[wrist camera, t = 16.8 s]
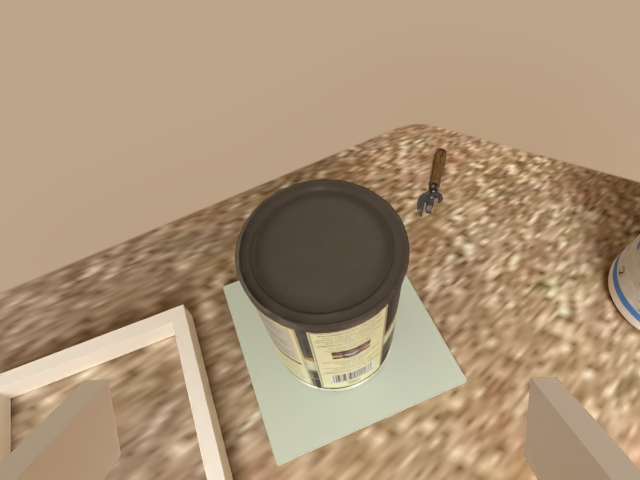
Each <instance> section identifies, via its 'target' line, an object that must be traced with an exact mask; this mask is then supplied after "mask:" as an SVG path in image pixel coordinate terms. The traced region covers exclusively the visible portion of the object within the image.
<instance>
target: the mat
mask: <svg viewBox="0 0 640 480" xmlns="http://www.w3.org/2000/svg"><path fill="white" fill-rule="evenodd" d="M223 289H224V292H225V296H226V299H227V302H228V306H229V309H230V312H231V315H232V319H233V322H234V325H235V329H236V332H237V335H238V339H239V342H240V345H241V348H242V352H243V355H244V358H245V362H246V365H247V368H248V371H249V375H250V378H251V381H252V385H253V388H254V391H255V394H256V398H257V401H258V404H259V408H260V411H261V414H262V417H263V421H264V424H265V427H266V431H267V434H268V437H269V440H270V444H271V447H272V450H273V454H274V457H275V460H276V463H277V465H278V466H279V465H281V464H284V463H286V462H288V461H290V460H293V459H295V458H297V457H299V456H302V455H304V454H306V453H308V452H311V451H313V450H315V449H317V448H320V447H322V446H324V445H326V444H329V443H331V442H333V441H335V440H338V439H340V438H342V437H344V436H347V435H349V434H351V433H353V432H355V431H358V430H360V429H362V428H364V427H367V426H369V425H371V424H373V423H376V422H378V421H380V420H382V419H385V418H387V417H389V416H391V415H394V414H396V413H398V412H400V411H403V410H405V409H407V408H409V407H412V406H414V405H416V404H418V403H421V402H423V401H425V400H427V399H429V398H432V397H434V396H436V395H438V394H441V393H443V392H445V391H447V390H450V389H452V388H454V387H456V386H459V385H461V384H463V383H465V382H466V381H467V380H466V378H465V376H464V374H463V373H462V371H461V369H460V367H459V366H458V364H457V362H456V361H455V359H454V357H453V355H452V354H451V352H450V350H449V348H448V347H447V345H446V343H445V341H444V340H443V338H442V336H441V335H440V333H439V331H438V329H437V328H436V326H435V324H434V322H433V321H432V319H431V317H430V316H429V314H428V312H427V310H426V309H425V307H424V305H423V303H422V302H421V300H420V298H419V296H418V295H417V293H416V291H415V290H414V288H413V286H412V284H411V283H410V281H409V279H408V277H407V276H406V275H405V278H404V281H403V283H402V286H401V292H400V298H399V303H398V308H397V314H396V320H395V326H394V333H393V343H392V348H391V351H390V354H389V357H388V359H387V361H386V362H385V364H384V365H383V367H382V368H381V370H380V371H379V372H378V373H377V374H376V375H375V376H374V377H372V378H371V379H370V380H369V381H367V382H366V383H364V384H362V385H360V386H358V387H355V388H353V389H349V390H345V391H339V392H327V391H321V390H317V389H313V388H311V387H308V386H306V385H304V384H303V383H301V382H299V381H298V380H297V379H296V378H294V377H293V376H292V375H291V374H290V373H289V372H288V371H287V369H286V368H285V367H284V365H283V364H282V362H281V360H280V358H279V356H278V353H277V350H276V348H275V346H274V344H273V342H272V340H271V338H270V336H269V334H268V332H267V330H266V328H265V326H264V324H263V322H262V320H261V318H260V316H259V314H258V312H257V310H256V308H255V306H254V304H253V303H252V302H251V301H250V299H249V298H248V296H247V294H246V293H245V291H244V289H243V287H242V285H241V283H240V281H236V282H234V283H231V284H228V285H226V286H223Z"/></svg>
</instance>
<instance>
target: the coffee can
mask: <svg viewBox="0 0 640 480" xmlns="http://www.w3.org/2000/svg"><path fill="white" fill-rule="evenodd" d="M235 262H236V270H237V275H238V278H239V281H240V283H241V285H242V287H243V289H244V291H245V293H246V294H247V296H248V298H249V299H250V301H251V302H252V303H253V304H254V306H255V308H256V310H257V312H258V314H259V316H260V318H261V320H262V322H263V324H264V326H265V328H266V330H267V332H268V334H269V336H270V338H271V340H272V342H273V344H274V346H275V348H276V350H277V353H278V356H279V358H280V360H281V362H282V364H283V365H284V367H285V368H286V369H287V371H288V372H289V373H290V374H291V375H292V376H293V377H294V378H296V379H297V380H298V381H299V382H301V383H303V384H304V385H306V386H308V387H311V388H313V389H317V390H321V391H327V392H339V391H345V390H349V389H353V388H355V387H358V386H360V385H362V384H364V383H366V382H367V381H369V380H370V379H371V378H372V377H374V376H375V375H376V374H377V373H378V372H379V371H380V370H381V368H382V367H383V365H384V364H385V362H386V361H387V359H388V357H389V354H390V351H391V348H392V343H393V333H394V326H395V320H396V314H397V308H398V303H399V298H400V292H401V286H402V283H403V281H404V278H405V275H406V272H407V268H408V263H409V241H408V236H407V232H406V230H405V227H404V224H403V222H402V220H401V218H400V217H399V215H398V214H397V212H396V211H395V210H394V209H393V207H392V206H391V205H390V204H389V203H387V202H386V201H385V200H384V199H383V198H382V197H380V196H379V195H377V194H376V193H374V192H372V191H370V190H369V189H367V188H365V187H363V186H360V185H357V184H354V183H350V182H346V181H340V180H326V179H322V180H312V181H307V182H302V183H298V184H294V185H292V186H289V187H287V188H284V189H282V190H280V191H278V192H277V193H275V194H273V195H272V196H270V197H269V198H267V199H266V200H265V201H263V202H262V203H261V204H260V205H259V206H258V207H257V208H256V209H255V210H254V211H253V212H252V214H251V215H250V216H249V218H248V219H247V220H246V222H245V224H244V226H243V228H242V230H241V232H240V235H239V237H238V241H237V245H236V253H235Z"/></svg>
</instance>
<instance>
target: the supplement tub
mask: <svg viewBox="0 0 640 480" xmlns="http://www.w3.org/2000/svg"><path fill="white" fill-rule="evenodd" d="M608 286H609V291H610V294H611V297H612V299H613V302H614V303H615V305H616V307H617V308H618V310H619V311H620V313H621V314H622V315H623V316H624V317H625V319H626V320H627V321H628V322H630V323H631V324H632V325H633V326H634V327H635V328H637V329H638V330H640V235H639V236H637V237H636V238H635V239H634V240H633V241H632V242H631V243H630V244H629V245H628V246H627V247H626V248H625V249H624V250H623V251H622V252H621V253H620V254H619V255H618V257H617V258H616V259H615V260H614V262H613V264H612V266H611V268H610V272H609V277H608Z"/></svg>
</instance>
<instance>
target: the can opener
mask: <svg viewBox="0 0 640 480" xmlns="http://www.w3.org/2000/svg"><path fill="white" fill-rule="evenodd" d="M445 160H446V151H445V150H444V149H439V150H438V151H437V153H436V156H435V159H434V164H433V172H432V177H431V181H430V185H429V187H430V190H429V192H427V193H424V194H422V195H421V196H420V197H419V199H418V202H417V210H418V212H419V214H420V216H422V211H423V207H424V202H428V204H427V207H426V213H429V214H431V209H432V207H433V203H434V199H435V198H439V199H440V200H439V202H438V203H440V202H442V200H443V197H442V195H441V194H440V193H438V192H437V190H438V188H439V186H440V180H441V175H442V172H443V169H444V165H445Z"/></svg>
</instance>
